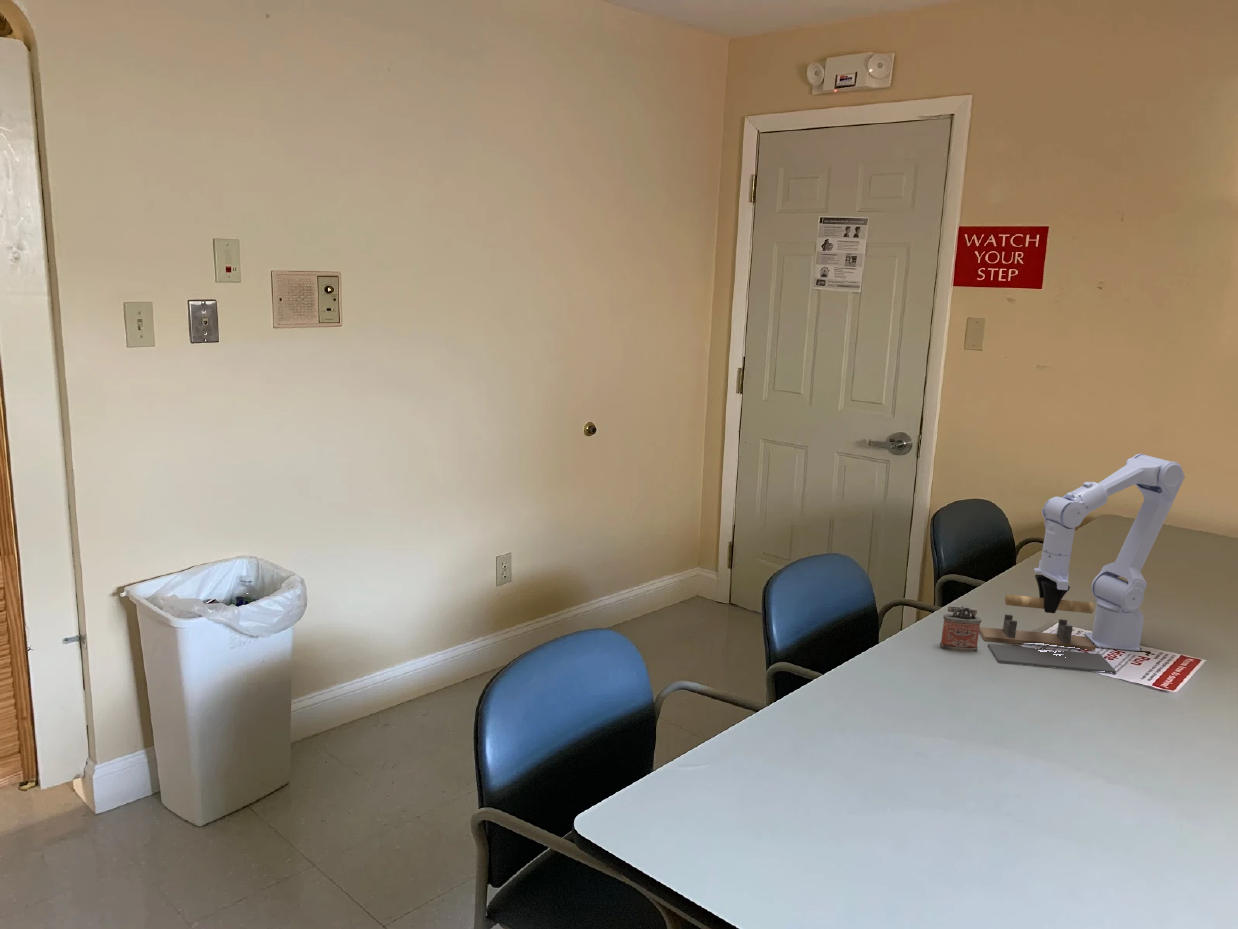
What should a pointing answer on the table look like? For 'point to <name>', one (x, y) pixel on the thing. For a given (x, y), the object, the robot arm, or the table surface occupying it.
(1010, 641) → the hook stand
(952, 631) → the lighter
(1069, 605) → the rail
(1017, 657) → the mat
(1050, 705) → the table surface
